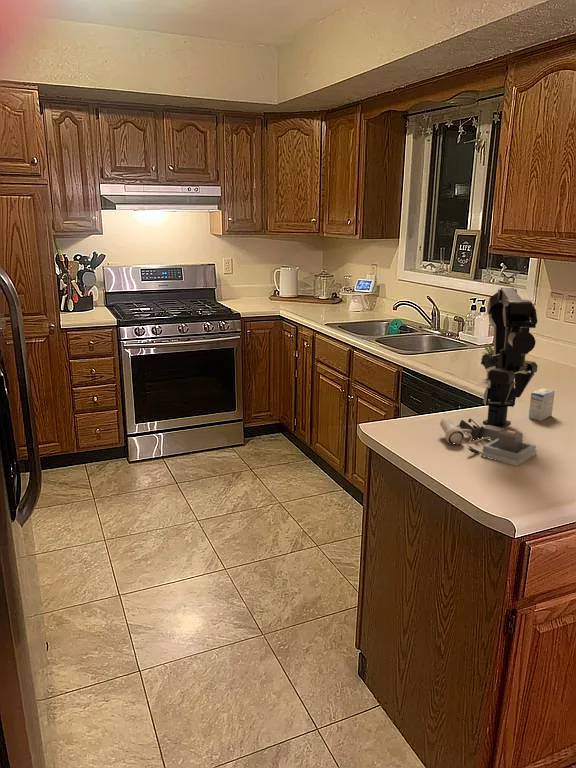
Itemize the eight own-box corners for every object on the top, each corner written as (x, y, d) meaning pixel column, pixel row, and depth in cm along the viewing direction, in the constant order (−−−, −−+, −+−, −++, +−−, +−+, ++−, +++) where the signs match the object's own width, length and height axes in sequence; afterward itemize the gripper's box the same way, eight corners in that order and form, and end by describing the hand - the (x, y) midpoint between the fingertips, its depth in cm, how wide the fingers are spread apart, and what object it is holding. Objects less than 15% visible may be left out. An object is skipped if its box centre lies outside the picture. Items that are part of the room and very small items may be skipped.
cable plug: (487, 435, 179) (488, 424, 178) (509, 441, 175) (510, 430, 174) (481, 438, 177) (482, 427, 176) (503, 444, 172) (504, 433, 171)
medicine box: (538, 412, 200) (541, 387, 198) (552, 415, 197) (555, 390, 195) (528, 418, 195) (530, 392, 193) (541, 421, 192) (544, 395, 190)
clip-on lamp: (496, 463, 166) (470, 429, 182) (503, 444, 164) (476, 410, 179) (456, 462, 164) (433, 427, 180) (462, 442, 162) (438, 409, 177)
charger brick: (505, 446, 167) (507, 427, 165) (521, 450, 164) (523, 431, 162) (497, 451, 164) (499, 431, 162) (513, 455, 161) (515, 435, 159)
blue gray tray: (501, 444, 171) (502, 435, 171) (536, 453, 165) (537, 444, 164) (480, 456, 163) (481, 446, 163) (516, 466, 156) (517, 456, 156)
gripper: (503, 338, 178) (498, 389, 182) (471, 347, 165) (467, 401, 169) (540, 342, 171) (535, 396, 175) (510, 352, 158) (505, 409, 162)
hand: (510, 400), depth 170 cm, fingers open, 9 cm apart
